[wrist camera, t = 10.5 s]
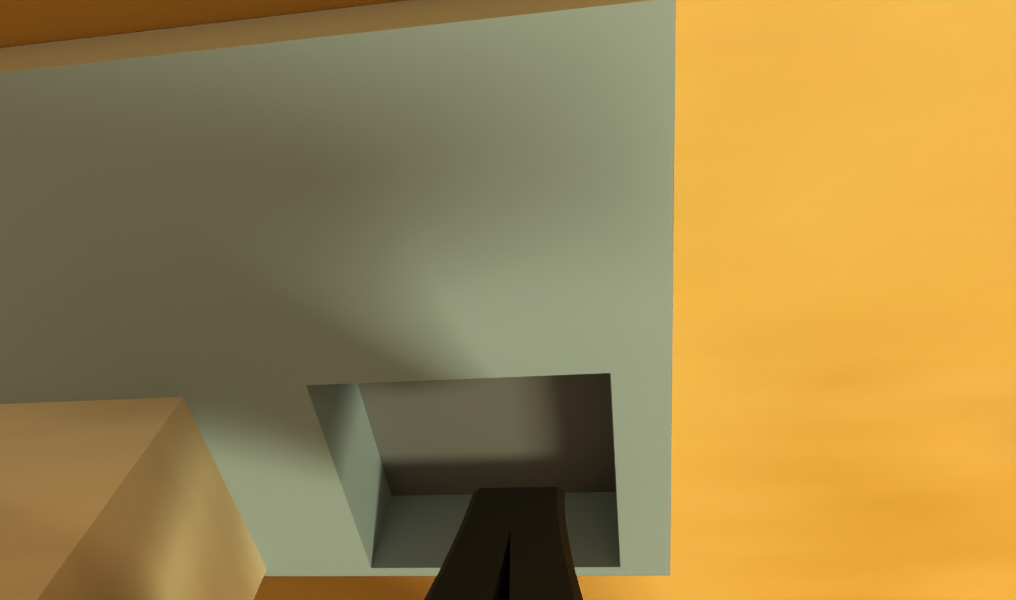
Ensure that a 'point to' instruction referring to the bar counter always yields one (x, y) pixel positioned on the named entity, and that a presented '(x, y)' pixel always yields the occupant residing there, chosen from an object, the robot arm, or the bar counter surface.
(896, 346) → the bar counter surface
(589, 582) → the bar counter surface
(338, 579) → the bar counter surface
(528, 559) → the robot arm
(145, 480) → the beech block
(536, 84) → the board
